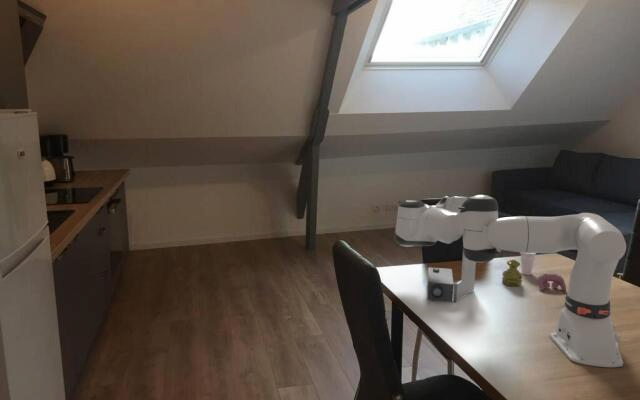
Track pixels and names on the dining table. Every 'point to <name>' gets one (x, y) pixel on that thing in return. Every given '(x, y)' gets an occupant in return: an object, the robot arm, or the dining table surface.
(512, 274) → the gold stepped round piece
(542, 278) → the video game controller
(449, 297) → the camera body
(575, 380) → the dining table surface
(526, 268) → the smoothie
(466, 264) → the side door
